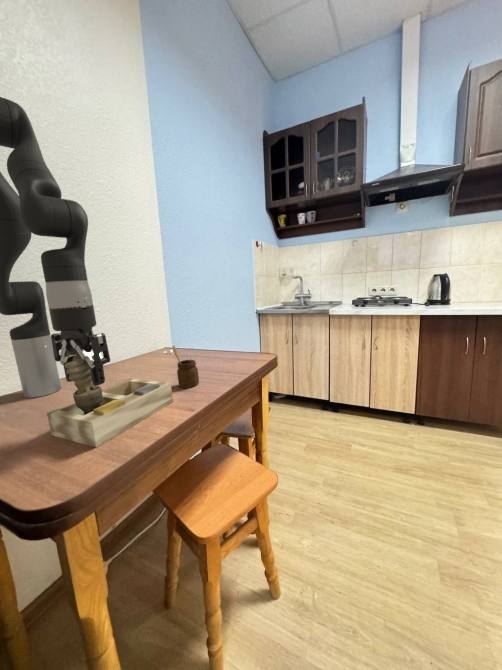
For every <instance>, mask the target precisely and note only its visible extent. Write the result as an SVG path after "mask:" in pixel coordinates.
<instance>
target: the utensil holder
mask: <svg viewBox="0 0 502 670" xmlns="http://www.w3.org/2000/svg"><path fill="white" fill-rule="evenodd" d="M172 348H173V352H174V355H175V357H176V358H177V360H178V362H177V371H176V372H177V373H176V374H177V383H178V387H180V388H182V389H188V388H194V387H196V386H198V385H199V383H200V378H199V377H200V376H199V371H198V370H199V369H198V367H197V366H196V365H197V362H196V359H195V357H196V350H195V348H193V347H191V348H189V349H188V350H187V351H188V352H187V359H184V360H180V358H179V353H178V350H177V348H176V346H175V345H173V346H172ZM190 350H191V351H190ZM189 354H194V356H192V355H189ZM192 358H193V359H192Z"/></svg>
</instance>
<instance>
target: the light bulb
mask: <svg viewBox="0 0 502 670" xmlns="http://www.w3.org/2000/svg"><path fill="white" fill-rule="evenodd" d="M92 359H93V361H95V359H94V357H92ZM65 367H66V368H67V371H66V373H67V374H69V375H70V376H69V380H70V381H71V382H74V386H75V387H76V390H75V391H74V392H73V393H72V396H73V402H74V401H75V404H76V406H77V407H78V408H80V409H81V410H82V411H83V412H84V415H86V414H88V413H91V412H93V410H94V409H96V408H98V407H99V406H100V404H101V402H102V399H103V395H102V390H103V389H102V386H100V385H98V386H95V385H93V382H92V377H91V371H90V368H91V367H90V366H89V364H88V363H87V361H86V360H83V359H82V358H81V356H78V355H76V356H74V357H73V361H72V362H69V363H66V364H65Z"/></svg>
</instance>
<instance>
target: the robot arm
mask: <svg viewBox="0 0 502 670" xmlns="http://www.w3.org/2000/svg"><path fill="white" fill-rule="evenodd" d="M0 147H4V148H8V149H9V148H10V149H12V151H11V152H10V154H8V157H7V160H6V169H7V172H8V176H9V178H10V180H11V182H12V183H13V185H14V188H15V189H16V190H15V189H14V188H13V186H12V185H10V184H11V183H9V182H8V181H7V179H6V177H5V176H4V175H3V173H2V172H1V171H0V314H1V315H2V316H17V315H28V314H31V316H32V317H31V318H30V319H29V320H27V321H26V322H24V323H22V324H20V325H18V326H14V327H13V328H11V329H10V330H9V336H10V341H11V345H12V350H13V354H14V358H15V362H16V363H15V364H16V367H17V371H18V376H19V381H20V384H21V389H22V394H23V397H24V398H28V399H29V398H38V397H44V396H47V395H50V394H51V395H52V394H54V393H56V392H58V391H59V390H61V388H62V385H61V381H60V375H59V370H58V365H57V362H60V365H62V366H63V370H64V375H65V380H66V382H71V383H72V381H70V380H69V376H70V375H69V374H67V373H66V371H67V368H66V367H65V364H66V363H69V362H72V361H73V357H74V356H76V355H78V356H81V358H82V359H83V360H86V361H87V363H88V364H89V366H90V367H91V368H90V371H91V377H92V382H93V385H95V386H100V385H103V384H104V383H106V381H105V380H106V377H105V371H104V365H105V364H107V363H111V357H110V351H109V347H108V343H107V342H108V341H107V337H106V334H105V333H104V332H102V333H101V332H100V333H96V334H94V332H93V327H94V328H95V327H96V326H97V321H96V320H97V319H96V315H95V314H96V313H95V307H94V301H93V297H92V296H93V295H92V290H91V288H90V285H89V281H88V275H87V269H86V268H87V267H86V262H85V261H86V260H85V256H86V255H85V253H86V244H87V243H86V241H87V236H88V235H87V234H88V229H89V228H88V227H89V217H88V214H87V212H86V210H85V209H84V208H83V206H82V205H81V204H80V203H79V202H78V201H74V200H71V199H67V198H62V191H61V188H60V186H59V184H58V182H57V181H56V179H55V177H54V175H53V174H52V172H51V170H50V169H49V168H48V166H47V163H46V161H45V159H44V157H43V154H42V150H41V148H40V145H39V142H38V140H37V136H36V134H35V131H34V128H33V126H32V123H31V120H30V118H29V116H28V114H27V113H26V111H25V109H24V108H23V107H22V106H21V105H20V104H18V103H17V102H15V101H13V100H11V99H8V98H5V97H1V96H0ZM32 234H33V235H35V236H39V237H50V238H62V239H63V238H65V239H66V243H65V245H64V247H62V248H55V249H49V250H45V251H43V252H42V253H41V255H40V261H41V262H40V263H41V267H42V272H43V277H44V278H43V279H44V282H45V293H44V290H43V287H42V286H41V284H40V283H39V282H37V281H33V280H32V281H30V280H29V281H28V280H27V281H26V280H25V281H10V276H11V272H12V270H13V267H14V266H15V264H16V262H17V260H18V259H19V258H20V256H21V255H22V254H23V252H25V250H26V248H27V247H28V246H29V244H30V242H31V239H32ZM45 294H46V295H45ZM45 297H46V299H45ZM46 301H47V305H46ZM46 306H48V311H49V316H50V321H51V326H52V329H53V331H55V332H57V333H52V334H51V331H50V326H49V319H48V314H47V309H46V308H47V307H46ZM101 353H102V355H103V356H102V355H101ZM92 357H94V359H95V361H93V359H92Z"/></svg>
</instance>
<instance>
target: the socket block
mask: <svg viewBox="0 0 502 670" xmlns="http://www.w3.org/2000/svg"><path fill="white" fill-rule="evenodd" d="M102 395H103V399H102V402H101V404H100V406H99V407H98V408H96V409H94V410H93V412H91V413H88V414H86V415H84V412H83V411H82V410H81V409H80V408H78V407H77V406H76V404H75V401H74V400H73V402H69V403H67V404H64V405H62V406H59V407H57V408H55V409H52V410H50V411H47V412H46V416H47V420H48V425H49V429H50V434H51V436H53V437H57V438H61V439H64V440H68V441H70V442H71V441H72V442H75V443H79V444H82V445H85V446H90V447H93V448H99V447H101V446H102V445H103V444H105V443H107V442H109V441H110V440H112V439H114V438H115V437H117V436H119V435H120V434H122V433H123V432H125V431H127V430H129V429H130V428H132V427H134V426H135V425H137V424H139V423H140V422H142V421H144V420H145V419H147V418H149V417H150V416H152V415H154V414H155V413H157V412H159V411H161V410H162V409H164V408H166V407H167V406H169V405H170V404H172V403H174V399H173V397H174V396H173V391H172V383H171V382H165V381H153V380H148V379H147V380H146V379H136V378H129V379H126V380H124V381H121V382H119V383H116V384H114V385H111V386H109V387H107V388H104V389H102Z"/></svg>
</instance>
